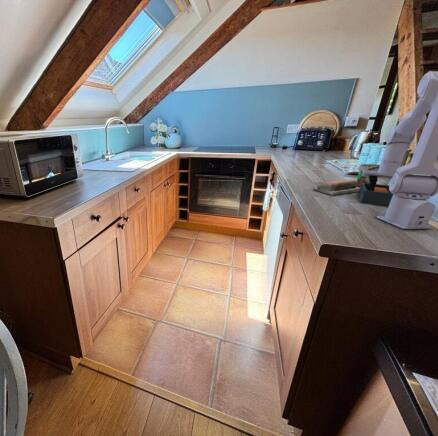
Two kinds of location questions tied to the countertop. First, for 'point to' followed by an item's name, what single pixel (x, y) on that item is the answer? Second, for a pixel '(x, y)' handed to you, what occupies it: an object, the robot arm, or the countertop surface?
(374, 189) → the block
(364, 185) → the dark grey open box
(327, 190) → the packaged product
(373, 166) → the food container
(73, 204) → the countertop surface
